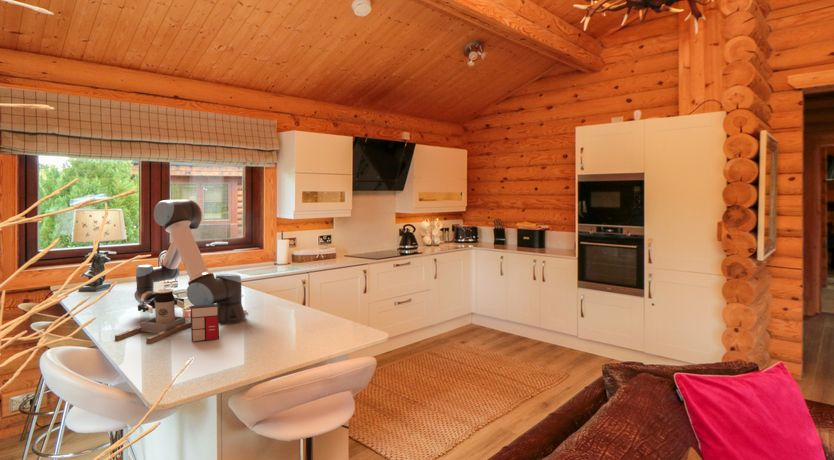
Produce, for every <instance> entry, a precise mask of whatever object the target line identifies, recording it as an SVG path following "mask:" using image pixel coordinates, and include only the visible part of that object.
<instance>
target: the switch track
mask: <svg viewBox="0 0 834 460" xmlns="http://www.w3.org/2000/svg"><path fill="white" fill-rule="evenodd" d="M185 322H186V323H183V324H181V325H178V326H175V327H173V328H171V329H168V330H166V331H163V332H160V333H156V334H154V335H151V336H148V337H147V338H145V339H146V342H145V343H146V344H153V343H155V342H158V341H159V340H162V339H164V338H167V337H169V336H171V335H174V334H177V333H178V332H182V331H183V330H186V329H189V328H191V321H185ZM142 332H143V331H141V325H139V326H137V327H134V328H131V329H127V330H126V331H123V332H121V333H118V334H115V335H114V340H115V341H120V340H123V339H125V338H129V337H132V336H134V335H136V334H139V333H142Z"/></svg>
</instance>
